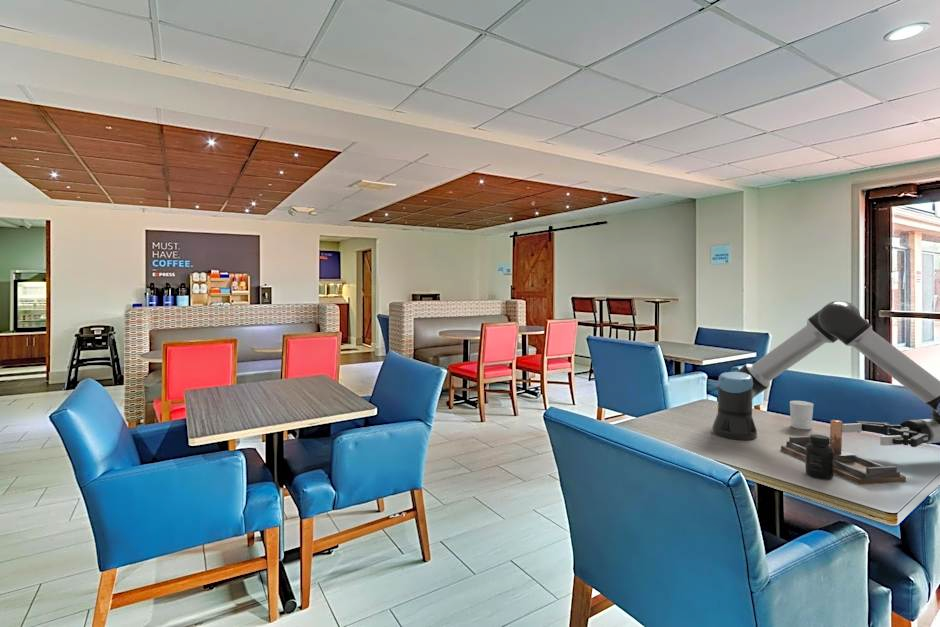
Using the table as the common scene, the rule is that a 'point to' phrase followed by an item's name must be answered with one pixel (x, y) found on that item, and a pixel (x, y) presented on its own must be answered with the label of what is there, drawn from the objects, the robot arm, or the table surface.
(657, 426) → the table surface
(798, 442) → the slide board
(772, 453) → the table surface
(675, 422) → the table surface
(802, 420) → the white cup
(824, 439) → the supplement bottle
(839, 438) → the carriage
